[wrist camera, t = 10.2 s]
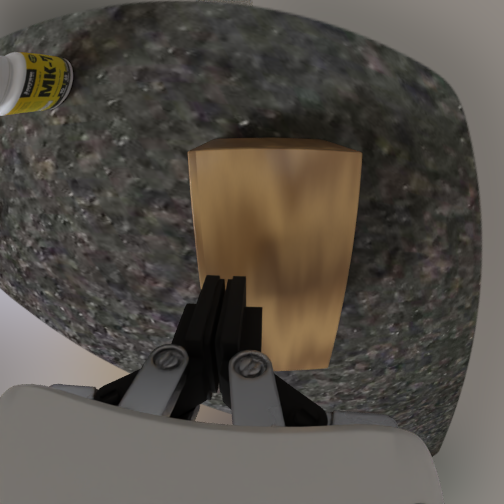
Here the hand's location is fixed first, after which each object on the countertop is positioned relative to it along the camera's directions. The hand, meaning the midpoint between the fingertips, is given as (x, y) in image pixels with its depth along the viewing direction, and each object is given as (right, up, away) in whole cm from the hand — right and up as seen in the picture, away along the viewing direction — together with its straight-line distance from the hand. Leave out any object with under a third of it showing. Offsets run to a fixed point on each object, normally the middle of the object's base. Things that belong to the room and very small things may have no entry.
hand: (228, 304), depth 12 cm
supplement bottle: (-15, +17, +4) cm, 23 cm away
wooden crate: (-1, +2, +5) cm, 6 cm away
